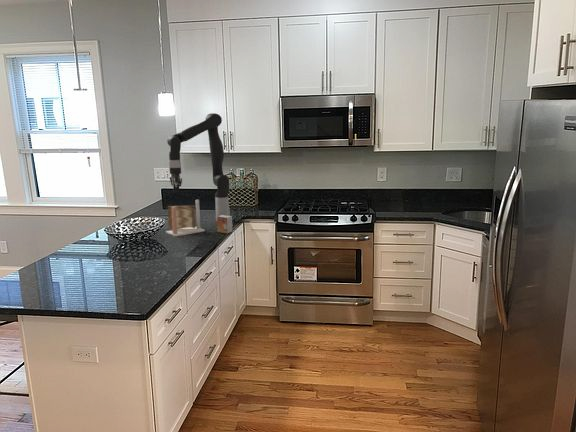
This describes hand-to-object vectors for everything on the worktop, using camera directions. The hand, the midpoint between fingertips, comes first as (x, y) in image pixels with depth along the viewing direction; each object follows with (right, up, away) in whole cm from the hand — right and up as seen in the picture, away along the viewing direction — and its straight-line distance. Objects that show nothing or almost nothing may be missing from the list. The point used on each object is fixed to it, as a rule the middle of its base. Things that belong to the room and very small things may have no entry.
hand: (176, 192), depth 305 cm
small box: (+34, -27, -12) cm, 45 cm away
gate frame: (+9, -26, -12) cm, 30 cm away
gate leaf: (+6, -24, -9) cm, 26 cm away
